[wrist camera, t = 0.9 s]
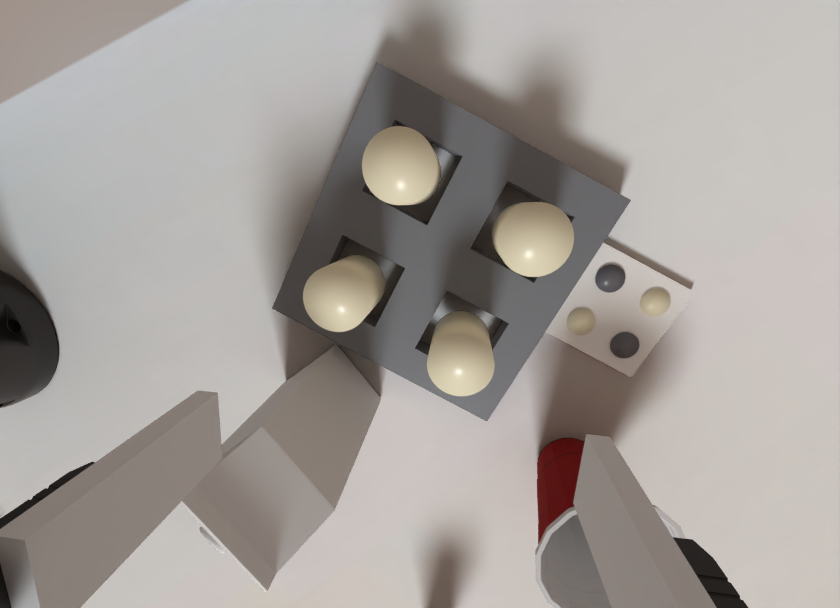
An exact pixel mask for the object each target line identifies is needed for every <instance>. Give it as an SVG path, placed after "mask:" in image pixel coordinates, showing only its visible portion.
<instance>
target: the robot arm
mask: <svg viewBox="0 0 840 608" xmlns="http://www.w3.org/2000/svg"><path fill="white" fill-rule="evenodd" d="M57 361H58V346H57V339H56V335H55V332H54V329H53V326H52V324H51V321H50V319H49V317H48V315H47V314H46V312H45V310H44V309H43V307H42V306H41V304H40V303H39V302H38V300H37V299H36V298H35V297H34V296H33V294H32V293H31V292H30V291H29V290H28V289H26V288H25V287H24V286H23V285H22V284H21V283H19V282H18V281H17V280H15V279H14V278H12V277H11V276H9V275H7V274H5V273H3V272H1V271H0V408H3V407H6V406H10V405H13V404H15V403H18V402H20V401H22V400H24V399H27V398H29V397H31V396H33V395H35V394H37V393H39V392H40V391H42V390H43V389H44V388H45V387H46V386H47V385H48V384H49V382H50V381H51V379H52V377H53V375H54V373H55V370H56V366H57ZM221 459H222V446H221V432H220V418H219V404H218V393H215V392H206V391H197V392H195V393H194V394H192V395H191V396H190V397H188V398H187V399H185V400H184V401H182V402H181V403H180V404H178V405H177V406H175V407H174V408H172V409H171V410H170V411H168V412H167V413H165V414H164V415H162V416H161V417H160V418H158V419H157V420H155V421H154V422H152V423H151V424H150V425H148V426H147V427H145V428H144V429H142V430H141V431H140V432H138V433H137V434H135V435H134V436H132V437H131V438H130V439H128V440H127V441H125V442H124V443H122V444H121V445H120V446H118V447H117V448H115V449H114V450H112V451H111V452H110V453H108V454H107V455H105V456H104V457H102V458H101V459H100V460H98V461H97V462H91V463H88V464H86V465H84V466H82V467H80V468H77V469H75V470H73V471H71V472H69V473H67V474H66V475H64V476H63V477H61V478H60V479H58V480H57V481H55V482H54V483H52V484H51V485H49V488H48V489H46V488H45V489H44V490H42V491H41V492H39V493H38V494H36V495H35V496H33V498H32V499H31V500H27V501H26V502H24V503H23V504H21V505H20V506H18V507H17V508H16V509H14V510H13V511H11V512H10V513H8V514H7V515H5V516H4V517H2V518H1V519H0V608H80V607H81V606H82V605H83V604H84V603H85V602H86V601H87V600H88V599H89V598H90V597H91V596H92V595H93V594H94V593H95V591H96V590H97V589H98V588H99V587H100V586H101V585H102V584H103V583H104V582H105V581H106V580H107V579H108V578H109V577H110V576H111V575H112V574H113V573H114V572H115V570H116V569H117V568H118V567H119V566H120V565H121V564H122V563H123V562H124V561H125V560H126V559H127V558H128V557H129V556H130V555H131V554H132V553H133V552H134V551H135V549H136V548H137V547H138V546H139V545H140V544H141V543H142V542H143V541H144V540H145V539H146V538H147V537H148V536H149V535H150V534H151V533H152V532H153V531H154V529H155V528H156V527H157V526H158V525H159V524H160V523H161V522H162V521H163V520H164V519H165V518H166V517H167V516H168V515H169V514H170V513H171V512H172V511H173V510H174V508H175V507H176V506H177V505H178V504H179V503H180V502H181V501H182V500H183V499H184V498H185V497H186V496H187V495H188V494H189V493H190V492H191V491H192V490H193V489H194V487H195V486H196V485H197V484H198V483H199V482H200V481H201V480H202V479H203V478H204V477H205V476H206V475H207V474H208V473H209V472H210V471H211V470H212V469H213V467H214V466H215V465H216V464H217V463H218V462H219V461H220V460H221ZM573 504H574V506H575V509H576V512H577V514H578V517H579V520H580V523H581V525H582V528H583V531H584V534H585V536H586V539H587V542H588V545H589V547H590V550H591V553H592V555H593V558H594V561H595V564H596V566H597V569H598V572H599V575H600V577H601V580H602V583H603V586H604V588H605V591H606V594H607V596H608V599H609V602H610V605H611V607H612V608H748V607H747V605H746V604H745V603H744V601H743V600H741V599H740V595H739V594H738V593H737V591H736V590H735V588H734V587H733V585H732V584H731V583H729V582H728V578H727V577H726V576H725V574H724V573H723V571H722V570H721V568H720V567H719V566H718V564H717V563H716V561H715V560H714V559H713V557H711V556H710V555H709V554H708V553H707V552H706V551H705V550H704V549H702V548H701V547H700V546H699V545H698V544H697V543H696V542H695V541H693V540H691V539H683V538H676V537H672V535H671V534H670V532H669V531H668V529H667V527H666V526H665V524H664V523H663V521H662V519H661V518H660V516H659V515H658V513H657V512H656V510H655V508H654V507H653V505H652V504H651V502H650V500H649V499H648V497H647V496H646V494H645V492H644V491H643V489H642V488H641V486H640V484H639V483H638V481H637V480H636V478H635V476H634V475H633V473H632V472H631V470H630V468H629V467H628V465H627V464H626V462H625V460H624V459H623V457H622V456H621V454H620V452H619V451H618V449H617V448H616V446H615V444H614V443H613V441H612V440H611V438H610V437H609V436H600V435H591V434H586V437H585V442H584V448H583V453H582V458H581V464H580V469H579V474H578V480H577V485H576V490H575V496H574V501H573Z"/></svg>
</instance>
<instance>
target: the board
mask: <svg viewBox="0 0 840 608" xmlns="http://www.w3.org/2000/svg"><path fill="white" fill-rule="evenodd" d="M394 126H404V127H408V128H412V129H414V130H416V131H417V132H419V133H420V134H422V135H423V136H424V137H425V138H426V139H427V140H428V141H429V142H431V143H433V144H435V145H437V146H438V147H440V148H442V149H444V150H446V151H448V152H449V153H451V154H453V155H455V156H457V157H459V158H460V159H461V161H460V163H459V165H458V167H457V169H456V170H455V172H454V174H453V176H452V178H451V180H450V182H449V184H448V186H447V188H446V190H445V192H444V194H443V196H442V198H441V200H440V202H439V204H438V205H437V207H436V209H435V211H434V213H433V215H432V217H431V219H430V221H429V223H427V222H425V221H423V220H421V219H419V218H417V217H415V216H414V215H412V214H410V213H408V212H406V211H404V210H402V209H400V208H399V207H397V206H395V205H393V204H389V203H386V202H384V201H382V200H380V199H379V198H377V197H376V196H375V195H374V194H373V193H371V192H369V191H370V189H369V188H368V186H367V184H366V182H365V180H364V176H363V172H362V159H363V154H364V151H365V149H366V147H367V145H368V143H369V142H370V140H371V139H372V138H373V137H374V136H375V135H376V134H377V133H379V132H380V131H382V130H384V129H386V128H389V127H394ZM506 183H507V184H508V185H510V186H512V187H514V188H516V189H518V190H519V191H521V192H523V193H525V194H527V195H529V196H531V197H532V198H534V199H536V200H538V201H540V202H544V203H548V204H552V205H554V206H556V207H558V208H559V209H561V210H562V211H563V212H564V213H565V214H566V215H567V217H568V218H569V220H570V222H571V224H572V227H573V231H574V244H573V248H572V251H571V253H570V255H569V257H568V259H567V260H566V261H565V263H564V264H563V265H562V266H561V267H559V268H558V269H557V270H555V271H554V272H552V273H550V274H547V275H544V276H540V277H527V276H523V275H520V274H518V273H516V272H514V271H513V270H511V269H510V268H509V267H508V266H507V265H505V264H503V263H501V262H499V261H497V260H495V259H494V258H492V257H490V256H488V255H486V254H484V253H482V252H481V251H479V250H477V249H475V248H473V247H471V246H472V244H473V243H474V241H475V239H476V237H477V235H478V234H479V232H480V230H481V228H482V226H483V225H484V223H485V221H486V219H487V217H488V216H489V214H490V212H491V210H492V208H493V207H494V205H495V203H496V201H497V199H498V197H499V196H500V194H501V192H502V190H503V188H504V187H505V185H506ZM630 201H631V200H630V199H628V198H626V197H624V196H622V195H620V194H619V193H617V192H615V191H613V190H611V189H609V188H608V187H606V186H604V185H602V184H600V183H598V182H597V181H595V180H593V179H591V178H589V177H587V176H586V175H584V174H582V173H580V172H578V171H576V170H575V169H573V168H571V167H569V166H567V165H565V164H564V163H562V162H560V161H558V160H556V159H554V158H553V157H551V156H549V155H547V154H545V153H543V152H542V151H540V150H538V149H536V148H534V147H532V146H531V145H529V144H527V143H525V142H523V141H521V140H520V139H518V138H516V137H514V136H512V135H510V134H509V133H507V132H505V131H503V130H501V129H499V128H498V127H496V126H494V125H492V124H490V123H489V122H487V121H485V120H483V119H481V118H479V117H478V116H476V115H474V114H472V113H470V112H468V111H467V110H465V109H463V108H461V107H459V106H457V105H456V104H454V103H452V102H450V101H448V100H446V99H445V98H443V97H441V96H439V95H437V94H435V93H434V92H432V91H430V90H428V89H426V88H424V87H423V86H421V85H419V84H417V83H415V82H413V81H412V80H410V79H408V78H406V77H404V76H402V75H401V74H399V73H397V72H395V71H393V70H391V69H390V68H388V67H386V66H384V65H382V64H380V63H379V62H377V63H376V66H375V68H374V70H373V73H372V75H371V77H370V80H369V82H368V84H367V87H366V89H365V91H364V94H363V96H362V98H361V101H360V103H359V105H358V108H357V110H356V113H355V115H354V117H353V120H352V122H351V124H350V127H349V129H348V131H347V134H346V136H345V138H344V141H343V143H342V145H341V148H340V150H339V152H338V155H337V157H336V160H335V162H334V164H333V167H332V169H331V171H330V174H329V176H328V178H327V181H326V183H325V185H324V188H323V190H322V192H321V195H320V197H319V199H318V202H317V204H316V206H315V209H314V211H313V214H312V216H311V218H310V221H309V223H308V225H307V228H306V230H305V232H304V235H303V237H302V239H301V242H300V244H299V246H298V249H297V251H296V253H295V256H294V258H293V261H292V263H291V265H290V268H289V270H288V272H287V275H286V277H285V279H284V282H283V284H282V286H281V289H280V291H279V293H278V296H277V298H276V300H275V303H274V305H273V307H272V309H274V310H276V311H278V312H280V313H282V314H284V315H286V316H288V317H289V318H291V319H293V320H295V321H297V322H299V323H301V324H303V325H305V326H307V327H308V328H310V329H312V330H314V331H316V332H318V333H320V334H322V335H324V336H326V337H327V338H329V339H331V340H333V341H335V342H337V343H339V344H341V345H343V346H345V347H346V348H348V349H350V350H352V351H354V352H356V353H358V354H360V355H362V356H364V357H365V358H367V359H369V360H371V361H373V362H375V363H377V364H379V365H381V366H383V367H384V368H386V369H388V370H390V371H392V372H394V373H396V374H398V375H400V376H402V377H404V378H405V379H407V380H409V381H411V382H413V383H415V384H417V385H419V386H421V387H423V388H424V389H426V390H428V391H430V392H432V393H434V394H436V395H438V396H440V397H442V398H443V399H445V400H447V401H449V402H451V403H453V404H455V405H457V406H459V407H461V408H462V409H464V410H466V411H468V412H470V413H472V414H474V415H476V416H478V417H480V418H481V419H483V420H485V421H488V419H489V417H490V416H491V414H492V413H493V411H494V410H495V408H496V407H497V405H498V404H499V402H500V401H501V399H502V397H503V396H504V394H505V393H506V391H507V390H508V388H509V387H510V385H511V384H512V382H513V381H514V379H515V377H516V376H517V374H518V373H519V371H520V370H521V368H522V367H523V365H524V364H525V362H526V361H527V359H528V358H529V356H530V354H531V353H532V351H533V350H534V348H535V347H536V345H537V344H538V342H539V341H540V339H541V338H542V336H543V334H544V333H545V331H546V330H547V328H548V327H549V325H550V324H551V322H552V321H553V319H554V318H555V316H556V314H557V313H558V311H559V310H560V308H561V307H562V305H563V304H564V302H565V301H566V299H567V298H568V296H569V295H570V293H571V291H572V290H573V288H574V287H575V285H576V284H577V282H578V281H579V279H580V278H581V276H582V275H583V273H584V271H585V270H586V268H587V267H588V265H589V264H590V262H591V261H592V259H593V258H594V256H595V255H596V253H597V252H598V250H599V248H600V247H601V245H602V244H603V242H604V241H605V239H606V238H607V236H608V235H609V233H610V232H611V230H612V228H613V227H614V225H615V224H616V222H617V221H618V219H619V218H620V216H621V215H622V213H623V212H624V210H625V208H626V207H627V205H628V204H629V202H630ZM348 238H350V239H351V240H353V241H355V242H357V243H359V244H361V245H363V246H365V247H366V248H368V249H370V250H372V251H374V252H376V253H378V254H380V255H381V256H383V257H385V258H387V259H389V260H391V261H393V262H395V263H396V264H398V265H400V266H402V267H404V268H405V270H404V272H403V274H402V276H401V278H400V279H399V281H398V283H397V285H396V287H395V289H394V291H393V293H392V295H391V297H390V299H389V301H388V303H387V305H386V307H385V309H384V311H383V313H382V315H381V316H380V318H377V317H375V316H373V315H371V314H368V315H367V316H366V317H365V319H364V320H363V321H362V322H361V323H360V324H359V325H358V326H356V327H355V328H353V329H351V330H348V331H344V332H333V331H329V330H326V329H324V328H322V327H320V326H319V325H317V324H316V323H315V322H314V321H313V320H312V319H311V318H310V316H309V315H308V313H307V311H306V309H305V306H304V302H303V291H304V287H305V284H306V282H307V280H308V279H309V277H310V276H311V275H312V274H313V273H314V272H316V271H317V270H319V269H321V268H323V267H325V266H327V265H330V264H332V263H334V262H336V261H338V259H339V256H340V254H341V252H342V250H343V248H344V246H345V243H346V241H347V239H348ZM446 291H449V292H451V293H453V294H455V295H456V296H458V297H460V298H462V299H464V300H466V301H468V302H470V303H471V304H473V305H475V306H477V307H479V308H481V309H483V310H485V311H486V312H488V313H490V314H492V315H494V316H496V317H498V318H500V319H501V320H503V321H502V323H501V325H500V326H499V328H498V329H497V331H496V333H495V334H494V336H493V338H492V339H491V341H490V342H491V347H492V352H493V357H494V363H495V368H494V374H493V376H492V379H491V380H490V382H489V383H488V385H487V386H486V387H485V388H484V389H482V390H481V391H479V392H478V393H475V394H473V395H469V396H454V395H450V394H447V393H445V392H443V391H442V390H440V389H439V388H438V387H437V386H436V385H435V384H434V383H433V382H432V380H431V378H430V376H429V374H428V370H427V359H428V354H429V350H430V345H428V344H426V343H424V342H422V341H420V338H421V336H422V335H423V333H424V331H425V329H426V327H427V326H428V324H429V322H430V320H431V318H432V317H433V315H434V313H435V311H436V309H437V307H438V306H439V304H440V302H441V300H442V298H443V297H444V295H445V293H446Z"/></svg>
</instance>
